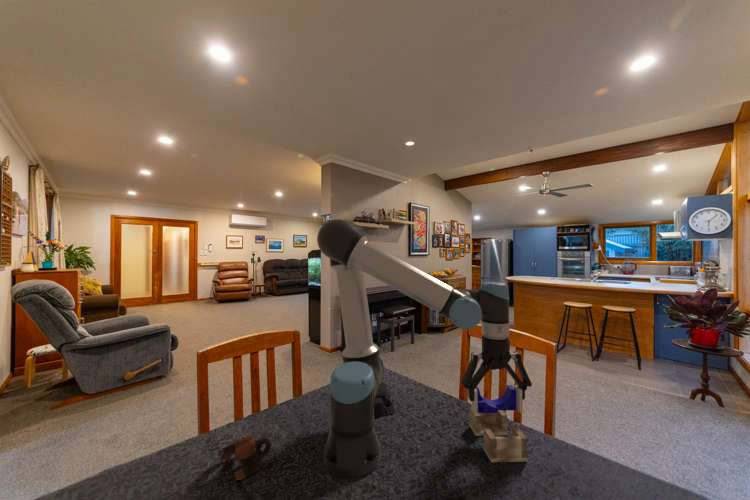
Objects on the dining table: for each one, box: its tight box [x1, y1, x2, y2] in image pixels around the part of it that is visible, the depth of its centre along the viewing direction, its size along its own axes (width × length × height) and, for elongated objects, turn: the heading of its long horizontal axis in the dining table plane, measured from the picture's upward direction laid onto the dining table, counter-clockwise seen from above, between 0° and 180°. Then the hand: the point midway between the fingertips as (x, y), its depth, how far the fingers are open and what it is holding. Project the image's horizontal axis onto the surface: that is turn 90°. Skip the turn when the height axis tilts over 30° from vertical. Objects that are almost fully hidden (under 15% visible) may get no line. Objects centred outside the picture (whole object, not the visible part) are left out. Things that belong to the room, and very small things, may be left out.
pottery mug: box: [219, 434, 272, 480], centre depth 77 cm, size 12×10×8 cm
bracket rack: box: [469, 406, 528, 463], centre depth 85 cm, size 10×16×6 cm, turn 2°
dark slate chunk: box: [374, 381, 396, 418], centre depth 109 cm, size 15×22×5 cm
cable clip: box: [475, 384, 517, 413], centre depth 87 cm, size 12×4×6 cm, turn 88°
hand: (496, 411), depth 85 cm, fingers closed on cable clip, 12 cm apart
